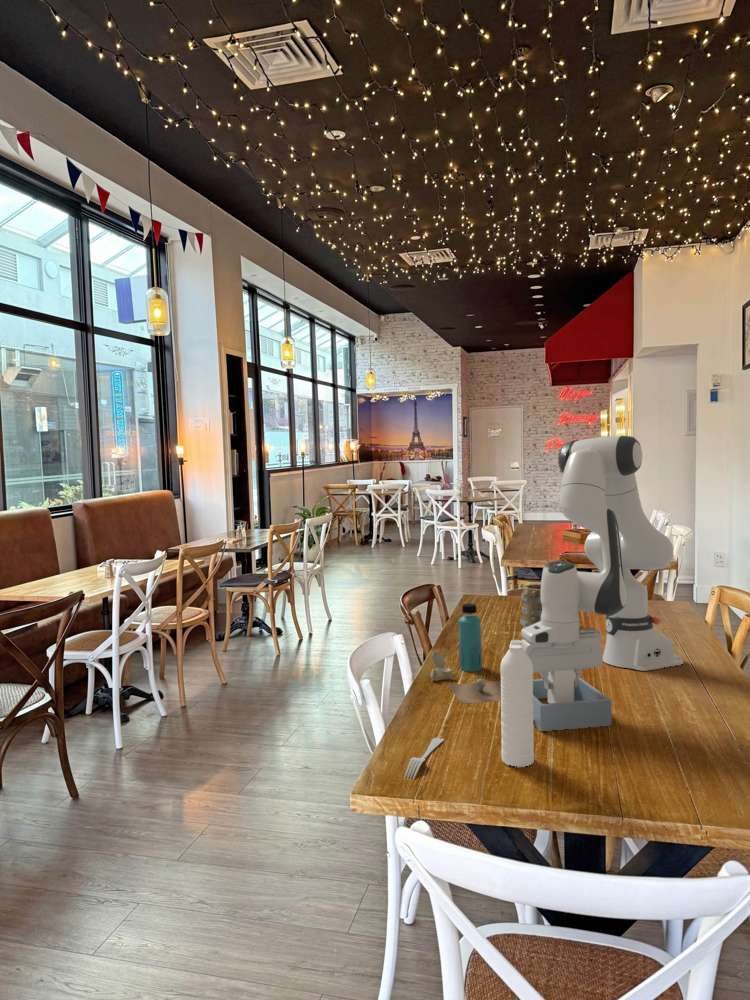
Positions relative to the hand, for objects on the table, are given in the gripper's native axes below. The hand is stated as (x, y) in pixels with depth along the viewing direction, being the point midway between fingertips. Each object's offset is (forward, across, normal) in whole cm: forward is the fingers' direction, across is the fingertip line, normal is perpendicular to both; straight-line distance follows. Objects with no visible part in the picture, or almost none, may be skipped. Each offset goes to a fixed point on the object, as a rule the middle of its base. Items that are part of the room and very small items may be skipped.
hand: (560, 687), depth 162 cm
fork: (+7, +37, +16) cm, 41 cm away
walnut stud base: (+6, +15, -15) cm, 22 cm away
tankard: (+7, -25, -78) cm, 82 cm away
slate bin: (+7, 0, 0) cm, 7 cm away
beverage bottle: (+7, +12, -34) cm, 37 cm away
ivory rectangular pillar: (+4, 0, 0) cm, 4 cm away
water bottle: (+7, +19, +22) cm, 30 cm away
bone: (+7, +22, -28) cm, 36 cm away
